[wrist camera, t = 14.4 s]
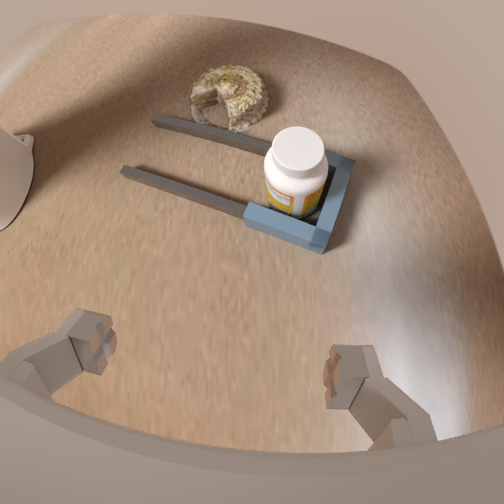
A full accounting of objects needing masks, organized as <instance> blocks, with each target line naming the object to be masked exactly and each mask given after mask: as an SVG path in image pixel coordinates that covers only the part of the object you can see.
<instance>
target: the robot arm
mask: <svg viewBox="0 0 504 504" xmlns="http://www.w3.org/2000/svg"><path fill="white" fill-rule="evenodd" d="M33 143H34V137H33V136H31V135H30V134H26V135H17V136H14V135H12V134H11V133H10V132H8V131H7V130H5V129H4V128H2V127H1V126H0V230H2V229H4V228H5V227H6V226H7V225H8V224H9V223H10V222H11V221H12V220H13V219H14V217H15V216H16V215H17V213H18V212H19V210H20V208H21V206H22V204H23V202H24V200H25V198H26V196H27V193H28V191H29V188H30V185H31V181H32V176H33V169H34V162H33V156H32V148H33ZM112 325H113V322H112V318H111V317H110V316H108V315H104V314H100V313H96V312H92V311H87V310H83V309H80V308H77V309H75V310H74V311H73V312H72V313H71V314H70V316H69V317H68V318H67V319H66V321H65V322H64V323H63V324H62V326H61V327H60V328H59V329H58V331H57V332H56V333H55V332H52V333H50V334H48V335H45V336H43V337H41V338H39V339H37V340H35V341H32V342H30V343H28V344H26V345H24V346H22V347H19V348H17V349H15V350H13V351H11V352H9V353H8V354H7V355H6V357H5V358H4V359H3V361H2V362H1V363H0V504H504V424H500V425H497V426H494V427H491V428H488V429H484V430H481V431H477V432H474V433H470V434H466V435H462V436H458V437H454V438H449V439H445V440H440V441H437V437H436V434H435V431H434V428H433V425H432V421H431V418H430V415H429V414H428V413H427V412H426V411H425V410H424V409H422V408H421V407H420V406H419V405H418V404H417V403H416V402H414V401H413V400H412V399H411V398H410V397H409V396H408V395H406V394H405V393H404V392H403V391H402V390H401V389H400V388H398V387H397V386H396V385H395V384H394V383H393V382H392V381H390V380H389V379H388V378H384V377H383V374H382V370H381V367H380V364H379V361H378V358H377V355H376V352H375V349H374V347H373V346H372V345H338V344H333V345H332V347H331V349H330V352H329V353H330V358H329V359H328V360H327V361H326V364H325V367H324V373H323V381H324V385H325V387H326V388H327V391H326V393H325V399H326V407H327V409H349V411H350V413H351V414H352V415H353V417H354V418H355V419H356V420H357V422H358V423H359V424H360V425H361V427H362V428H363V429H364V431H365V432H366V433H367V434H368V436H369V437H370V438H371V439H372V441H373V442H374V443H373V445H372V446H371V447H370V448H369V449H368V451H359V452H342V453H285V452H267V451H254V450H244V449H235V448H226V447H219V446H212V445H206V444H200V443H194V442H188V441H183V440H178V439H173V438H168V437H164V436H160V435H155V434H151V433H147V432H143V431H139V430H136V429H132V428H128V427H125V426H121V425H118V424H115V423H112V422H108V421H105V420H102V419H99V418H96V417H93V416H90V415H88V414H85V413H82V412H79V411H77V410H74V409H72V408H69V407H66V406H64V405H61V404H59V403H57V402H55V401H54V400H53V398H52V396H51V394H52V393H54V392H55V391H57V390H58V389H59V388H61V387H62V386H64V385H65V384H67V383H68V382H69V381H71V380H72V379H74V378H75V377H77V376H78V375H79V374H81V373H82V372H83V371H86V372H89V373H93V374H96V375H100V376H101V375H102V374H103V372H104V370H105V368H106V366H107V364H108V362H107V358H109V357H111V356H112V355H113V353H114V352H115V349H116V344H117V337H116V333H115V332H114V331H113V329H112V328H111V327H112Z"/></svg>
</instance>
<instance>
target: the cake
mask: <svg viewBox="0 0 504 504" xmlns="http://www.w3.org/2000/svg"><path fill="white" fill-rule="evenodd" d="M267 95H268V93H267V92H266V89H265V83H264V81H263V80H262V79H260V76H259V74H257V73H254V71H253V70H252V69H250V68H248V67H246V66H245V67H244V66H242V65H241V66H240V65H239V66H238V65H229V64H228V63H227V65H226V64H225V65H222V66H217V67H216V68H215V69H214V68H211V69H209V70H208V71H207V72H204V73H203V74H202V75H201V76H200V77H199V78H197V81H196V83H193V88H192V91H191V96H190V100H191V101H192V102H191V106H190V109H191V115H192V116H193V119H194V120H195V122H196V123H200V124H204V125H208V126H212V127H216V128H220V129H223V130H227V131H231V132H234V133H242V132H244V131H247V130H249V129H251V128H253V127H254V126H255V125H256V124H255V123H257V121H258V120H260V119H261V117H262V116H263V115H262V114H265V112H266V110H267V109H266V108H268V100H269V97H268V96H267ZM216 103H219V106H221V107H224V108H226V110H227V118H228V128H227V129H226V128H221V127H218V126H215V125H214V124H212V123H211V122H209V121H208V120H207V119H206V118H205V117H204V115H203V113H202V110H201V109H204V108H205V107H208V106H211V105H215V104H216ZM252 124H254V126H253V125H252ZM251 125H252V126H253V127H250V126H251Z"/></svg>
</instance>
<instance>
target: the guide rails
mask: <svg viewBox="0 0 504 504" xmlns="http://www.w3.org/2000/svg"><path fill="white" fill-rule="evenodd" d="M151 121H152V122H153V124H154V125H155V126H156V127H160V128H164V129H168V130H173V131H177V132H181V133H185V134H188V135H192V136H196V137H200V138H204V139H207V140H211V141H215V142H218V143H222V144H225V145H229V146H232V147H235V148H239V149H242V150H245V151H249V152H252V153H255V154H258V155H261V156H264V157H265V156H266V154H267V152H268V150H269V149H270V148H271V147H272V144H271V143H268V142H265V141H262V140H258V139H255V138H252V137H248V136H245V135H241V134H238V133H234V132H231V131H227V130H223V129H220V128H216V127H212V126H208V125H204V124H200V123H196V122H192V121H187V120H183V119H179V118H174V117H169V116H165V115H160V114H154V116H153V117H152V119H151ZM120 173H121V174H122V175H123V176H124V177H126V178H128V179H131V180H134V181H137V182H140V183H143V184H146V185H149V186H152V187H155V188H157V189H160V190H163V191H166V192H169V193H172V194H175V195H177V196H180V197H183V198H186V199H189V200H191V201H194V202H197V203H200V204H203V205H205V206H208V207H211V208H214V209H216V210H219V211H222V212H225V213H227V214H230V215H233V216H235V217H238V218H241V219H243V220H244V218H243V214H244V212H245V210H246V208H247V206H245V205H243V204H240V203H237V202H234V201H231V200H229V199H226V198H223V197H220V196H217V195H214V194H212V193H209V192H206V191H203V190H200V189H197V188H194V187H191V186H188V185H185V184H182V183H179V182H176V181H173V180H170V179H167V178H164V177H161V176H158V175H155V174H152V173H149V172H146V171H142V170H139V169H136V168H133V167H130V166H127V165H124V166H123V168H122V169H121V171H120Z"/></svg>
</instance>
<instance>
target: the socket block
mask: <svg viewBox="0 0 504 504" xmlns="http://www.w3.org/2000/svg"><path fill="white" fill-rule="evenodd" d="M324 154H325V156H326V158H327V161H328V174H327V179H330V180H332V182H331V185H330V187H329V190H328V193H327V196H326V199H325V202H324V204H323V207H322V210H321V213H320V215H319V218H318V221H317V224H316V226H313V225H310V224H308V223H305V222H303V221H300V220H297V219H295V218H292V217H289V216H287V215H284V214H281V213H279V212H276V211H273V210H271V209H268V208H265V207H262V206H260V205H257V204H254V203H251V202H249V203H248V205H247V208H246V210H245V212H244V214H243V218H244V221H245V224H246V226H248V227H251V228H254V229H256V230H259V231H262V232H264V233H267V234H269V235H272V236H275V237H277V238H280V239H283V240H285V241H288V242H290V243H293V244H296V245H298V246H301V247H303V248H306V249H308V250H311V251H313V252H316V253H319V254H322V253H323V251H324V250H325V249H326V246H327V244H328V241H329V238H330V235H331V232H332V229H333V227H334V224H335V221H336V218H337V215H338V212H339V209H340V206H341V203H342V200H343V197H344V194H345V191H346V188H347V185H348V181H349V178H350V175H351V172H352V169H353V165H354V162H355V161H354V160H352V159H349V158H346V157H344V156H341V155H339V154H336V153H333V152H331V151H328V150H325V153H324Z"/></svg>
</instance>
